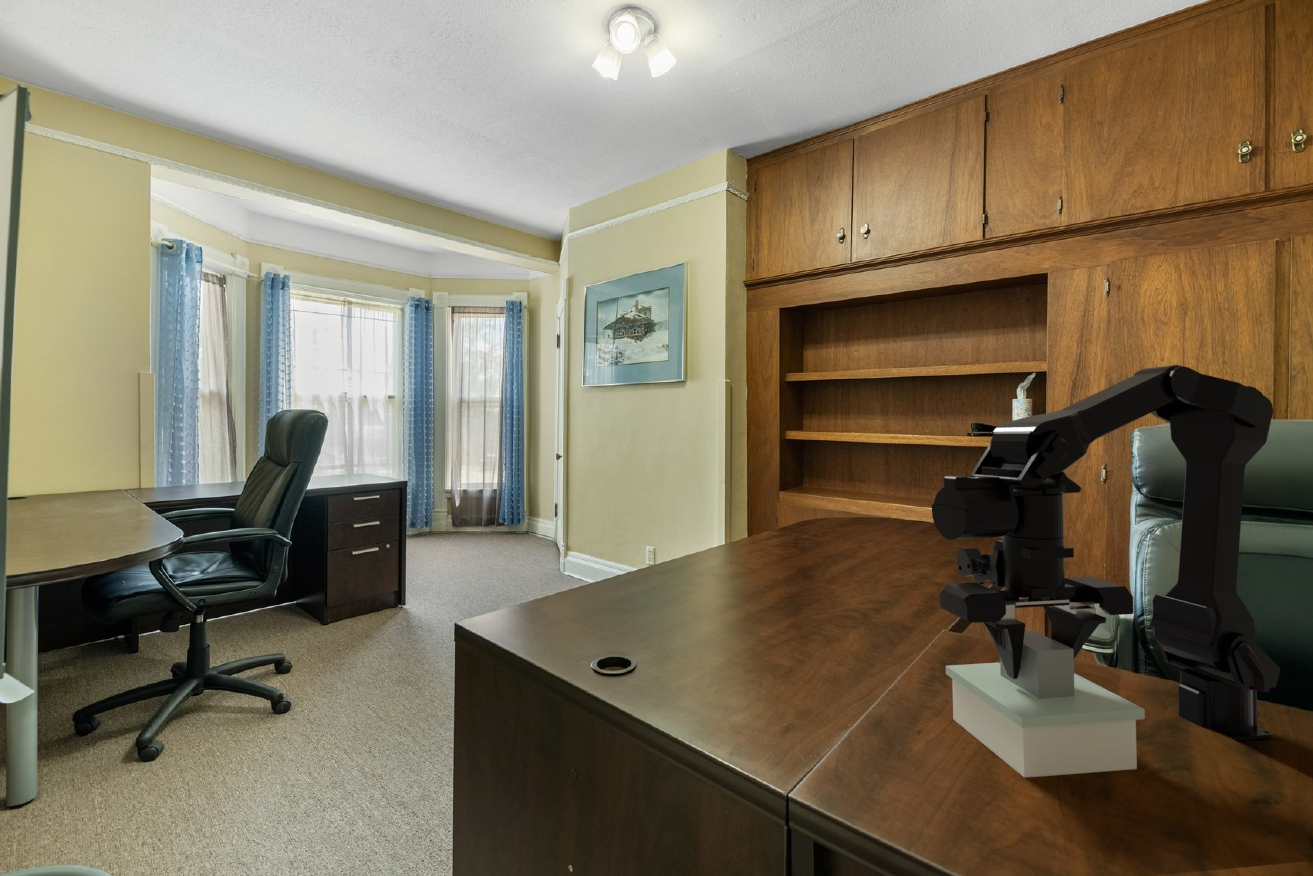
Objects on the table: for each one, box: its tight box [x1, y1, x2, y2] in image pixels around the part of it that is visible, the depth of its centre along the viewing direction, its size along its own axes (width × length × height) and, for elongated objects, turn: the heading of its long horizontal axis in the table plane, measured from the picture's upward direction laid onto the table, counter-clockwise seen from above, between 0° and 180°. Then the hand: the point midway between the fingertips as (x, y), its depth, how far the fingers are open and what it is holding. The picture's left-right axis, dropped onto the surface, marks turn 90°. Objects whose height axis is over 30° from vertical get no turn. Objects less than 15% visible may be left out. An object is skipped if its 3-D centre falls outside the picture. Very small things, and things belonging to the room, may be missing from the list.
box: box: [951, 678, 1138, 779], centre depth 64 cm, size 12×12×6 cm
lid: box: [945, 629, 1146, 728], centre depth 64 cm, size 13×13×7 cm
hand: (1035, 676), depth 64 cm, fingers open, 5 cm apart
